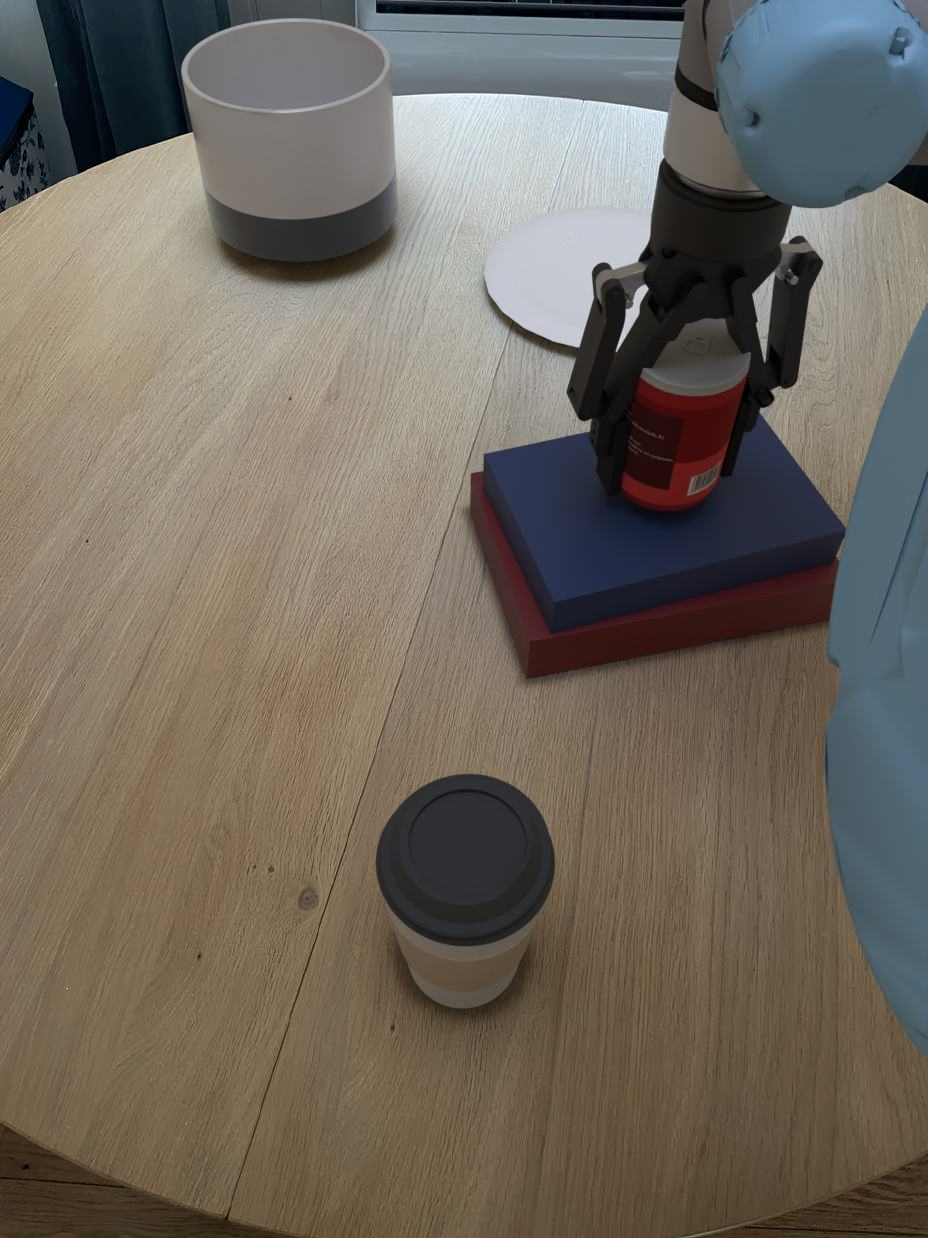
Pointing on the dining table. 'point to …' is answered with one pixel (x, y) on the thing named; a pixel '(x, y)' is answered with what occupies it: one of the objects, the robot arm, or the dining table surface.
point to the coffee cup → (465, 884)
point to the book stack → (649, 554)
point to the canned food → (683, 418)
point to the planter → (294, 136)
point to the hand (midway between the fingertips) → (663, 473)
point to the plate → (563, 268)
